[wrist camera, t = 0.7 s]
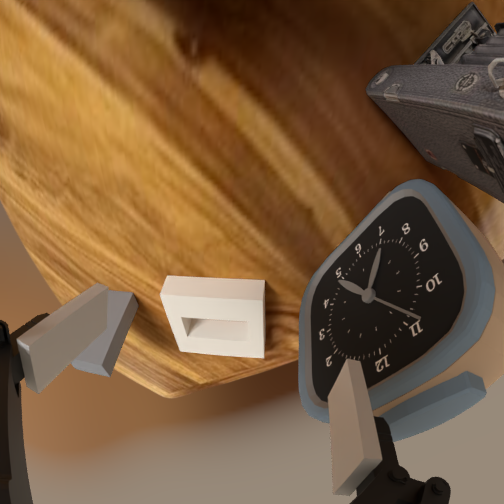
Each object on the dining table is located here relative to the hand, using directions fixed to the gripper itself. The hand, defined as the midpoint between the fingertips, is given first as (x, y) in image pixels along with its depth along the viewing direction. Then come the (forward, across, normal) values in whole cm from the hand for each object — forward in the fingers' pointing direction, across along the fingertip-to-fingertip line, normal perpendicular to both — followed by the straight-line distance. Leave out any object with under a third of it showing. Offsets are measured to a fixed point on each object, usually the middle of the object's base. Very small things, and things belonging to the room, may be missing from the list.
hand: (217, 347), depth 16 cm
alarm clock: (+23, +13, +4) cm, 26 cm away
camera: (+15, +13, +24) cm, 30 cm away
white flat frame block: (+27, -4, -13) cm, 30 cm away
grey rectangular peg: (+26, -19, -16) cm, 36 cm away
